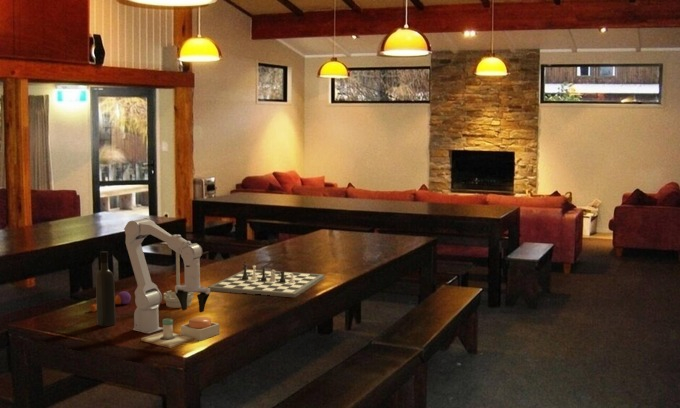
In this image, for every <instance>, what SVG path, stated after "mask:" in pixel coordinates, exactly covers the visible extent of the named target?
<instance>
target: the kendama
mask: <svg viewBox="0 0 680 408" xmlns="http://www.w3.org/2000/svg"><path fill="white" fill-rule="evenodd" d="M131 299H132V296H131V294H130V293H129V292H128V291H125V290H123V291H120V292H119V293H118V294H116V295H115V305H127V304H129V303H130V302H131ZM89 309H90V311H91V312H92V313H96V312H97V303H94V304H90V306H89Z"/></svg>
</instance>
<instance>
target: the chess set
mask: <svg viewBox="0 0 680 408" xmlns="http://www.w3.org/2000/svg"><path fill="white" fill-rule="evenodd" d="M242 267H243V269H242V270H241V271H239V272H236V273H235V274H233V275H230V276H229V277H227V278H223V279H222V280H220V281H218V282H215V283H214V284H211V285H209V286H207V288H210V292H217V293H218V292H219V293H220V292H221V293H230V292H231V293H233V294H242V293H247V294H246V295H255V294H261V295H260V296H267V295H270V296H269V297H280V298H296V297H298V296H300V295H302V293H304V292H306V291H307V290H309V289H310V288H312V287H314V286H315V285H316V284H318V283H319V282H321V281H322V280H324V279H325V274H323V273H321V274H319V273H308V272H307V273H306V272H290V271H283V270H281V271H278V270H275V269H271V270H266V269H265V268H264V267H263V268H262V270H261V269H256V268H257V265H255V264H254V265H252V268H253V269H249V268H248V264H247V263H246V261H244V262H243V263H242Z"/></svg>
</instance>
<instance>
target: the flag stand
mask: <svg viewBox="0 0 680 408" xmlns="http://www.w3.org/2000/svg"><path fill="white" fill-rule="evenodd" d="M180 262H181V261H180V254H179V253H177V252H176V251H175V272H176V276H175V277H176V279H175V280H176V281H175V282H176V286H177V285H181V277H180V276H181V274H180V270H181V269H180V268H181V266H180ZM177 292H178V291H174V292H173V290H167V291H166V292H164V293H163V300H164V301H165V304H166V305H165V306H166V307H167V308H173V309H174V308H175V309H176V308H179V309H180V308H182V307H181V304H180V301H179V299H178V297H177V296H176V293H177ZM193 298H194V292H188V295H187V307H189V306H191V305H192V300H193Z"/></svg>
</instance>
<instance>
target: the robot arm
mask: <svg viewBox="0 0 680 408" xmlns="http://www.w3.org/2000/svg"><path fill="white" fill-rule="evenodd" d="M124 226H125V227H124V228H123V230H124V233H125V245H126V250H127V253H128V256H129V260H130V264H131V267H132V271H133V273H134V274H133V275H134V277H135V281H136V284H137V285H136V286H137V287H136V288H135V290H134V296H135V299H134V303H135V305H136V309H135V310H134V313H133V324H134V325H133V328H132V331H137V332H139V333H140V332H141V333H144V334H152V333H155V332H158V331H163V326H161V327H160V322H159V320H160V319H159V317H160V316H159V308H160V303H161V302H162V299H163V295H162V293H161V291H160V289H159V288H158V285H157V284H156V283H154V282H153V281H152V278H151V274H150V271H149V267H148V265H147V261H146V257H145V254H144V250H143V247H142V243H143V241H144V239H145V238H147V236H149V235H151V236H153V237H155V238H157V239H158V240H160V241H163V242H164V243H166V244H167V247H168V248H169V249H171V250H173V252H175V253H176V252H177V253H179V255H180V257H181V258H182V260H183V264H184V267H183V269H184V270H183V271H184V285H181V284H180V285H177V284H176V285H174V292H176V291H178V292H177V293H176V296H177V297H178V299H179V301H180V304H181V307H180V308H181V311H186V310H187V308H188V306H187V295H188V292H193V293H197V295H196V296H197V300H198V311H199V313H203V312H204V311H205V308H206V307H205V306H206V303H207V301H208V298H209V297H210V294H211V291H210V288H208V287H205V286H202V285H201V273H200V272H201V269H200V268H201V266H200V263H201V262H200V261H201V259H200V258H201V256H202V255H203V247H202V246H201V245H200V244H198V243H197V242H194V243H192V242H191V240H186V239H185V238H183V237H182V235H181V234H171V233H169V232H167V231H166V230H165V229H164V228H162V227H160V225H157V224H156V223H155V220H151V219H150V218H148V217H143V218H141V219H136V220H129V221H127V223H126V225H124Z"/></svg>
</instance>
